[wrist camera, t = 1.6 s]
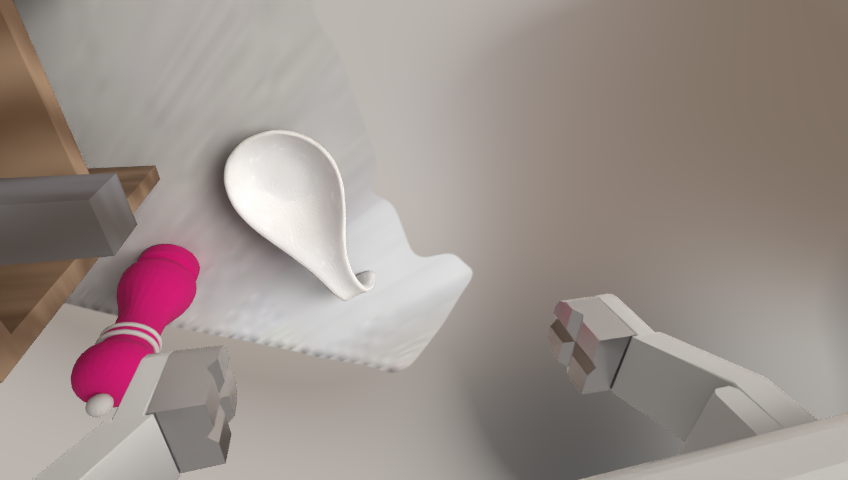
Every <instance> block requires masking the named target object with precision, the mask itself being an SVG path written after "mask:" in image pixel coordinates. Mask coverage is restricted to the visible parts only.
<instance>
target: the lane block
mask: <svg viewBox="0 0 848 480" xmlns="http://www.w3.org/2000/svg"><path fill="white" fill-rule="evenodd" d="M136 225H137V223H136V220H135V218H134V215H133V213H132V210H131V208H130V206H129V203H128V201H127V198H126V196H125V193H124V191H123V188H122V186H121V183H120V181H119V178H118V176H117V173H103V174H81V175H60V176H39V177H17V178H0V266H1V265H13V264H25V263H36V262H48V261H60V260H72V259H84V258H95V257H107V256H115V254H116V253H117V252H118V250H119V249H120V248H121V246H122V245H123V243H124V242H125V241H126V239H127V238H128V236H129V235H130V234H131V232H132V231H133V230H134V228H135V227H136Z"/></svg>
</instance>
